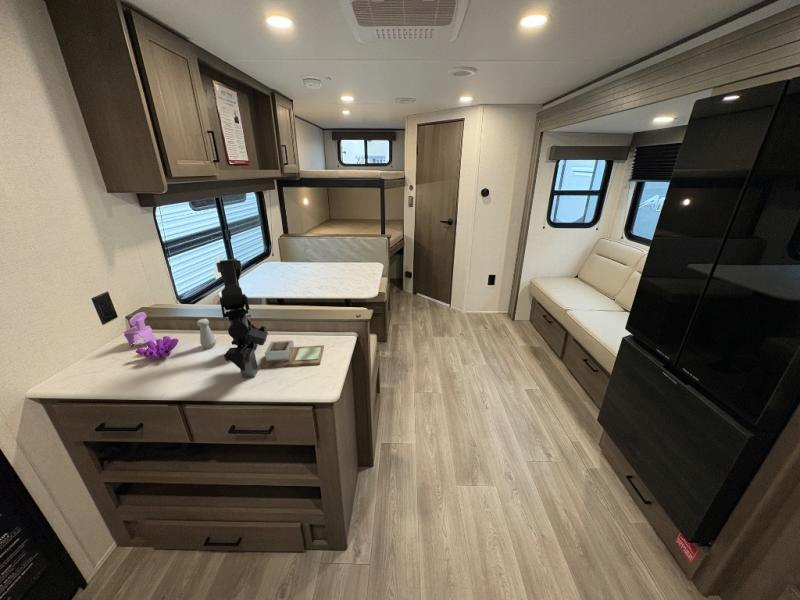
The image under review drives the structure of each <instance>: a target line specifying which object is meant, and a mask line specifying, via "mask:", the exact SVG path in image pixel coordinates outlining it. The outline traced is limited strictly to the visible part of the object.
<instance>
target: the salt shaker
mask: <svg viewBox="0 0 800 600" xmlns="http://www.w3.org/2000/svg"><path fill="white" fill-rule="evenodd" d="M196 324H197V326H198V327H199V333H200V334H199V335H200V336H199V341H200V342H199V344H200V345H201V346H202V348H204V349H207V350H208V349H211V348H214V347H215V346H216V343H217V339H216V338H215V334H214V333H213V331H212V330H211V328H210V325H209V324H210V321H209V319H208V318H200V319H199V320H197V321H196Z"/></svg>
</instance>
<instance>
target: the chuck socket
mask: <svg viewBox="0 0 800 600" xmlns="http://www.w3.org/2000/svg"><path fill="white" fill-rule="evenodd" d="M294 347H295V345H294V340H275V341H271V342H270V343H269V345H268V347H267V348H266V351H265V352H264V354H265V355H264V356H265V360H266V361H267V363H270V362H287V361H290V359H291V357H292V354H293V352H294Z"/></svg>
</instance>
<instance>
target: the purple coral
mask: <svg viewBox="0 0 800 600" xmlns="http://www.w3.org/2000/svg"><path fill="white" fill-rule="evenodd" d="M178 344H179V338H171V336H170V335H169V336H168V335H167V336H163V337H162V338H159V339H157V340H156V342H155V343H154V342H153V341H152V340H150V341H148V342H146V344H145V346H146V345H147V346H148V347H146V348H143V347H138V348H137V349H136V350H135V353H136V354H138V355H140V356H143V357H145V358H146V359H159V358H166V357H169V356H170V355H171V352H172V351H173V349H175V348H176V347H177V345H178Z"/></svg>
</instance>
